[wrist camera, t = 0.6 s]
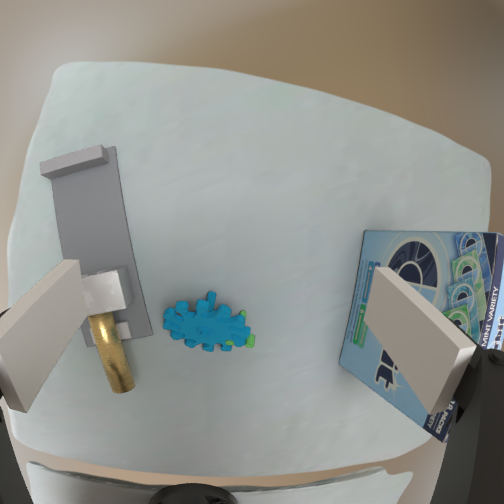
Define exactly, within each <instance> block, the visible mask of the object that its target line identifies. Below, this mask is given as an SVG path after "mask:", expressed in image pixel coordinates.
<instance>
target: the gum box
mask: <svg viewBox="0 0 504 504" xmlns="http://www.w3.org/2000/svg"><path fill="white" fill-rule="evenodd" d="M375 267H389V268H391V269H392V270H393V271H394V272H395V273H396V274H398V275H399V276H400V277H401V278H402V279H403V280H405V281H406V282H407V283H408V284H409V285H410V286H412V287H413V288H414V289H415V290H416V291H417V292H418V293H420V294H421V295H422V296H423V297H424V298H425V299H426V300H428V301H429V302H430V303H431V304H432V305H433V306H434V307H435V308H437V309H438V310H439V311H440V312H441V313H442V314H443V315H444V316H446V317H448V318H450V319H452V320H453V321H454V322H455V323H456V324H457V325H458V326H460V328H462V329H463V330H464V331H465V333H466V334H468V335H469V336H470V337H471V338H472V339H473V340H475V341H476V342H477V343H478V344H479V345H480V346H481V347H482V348H483V349H484V350H485V349H489V348H493V349H498V350H501V346H502V342H503V338H504V235H502V234H500V233H498V232H453V231H378V230H365V234H364V241H363V247H362V253H361V259H360V265H359V271H358V277H357V283H356V289H355V294H354V299H353V304H352V309H351V313H350V318H349V323H348V327H347V331H346V336H345V340H344V344H343V349H342V353H341V357H340V360H339V364H340V365H341V366H342V367H344V368H345V369H346V370H348V371H349V372H350V373H351V374H353V375H354V376H355V377H357V378H358V379H359V380H360V381H362V382H363V383H364V384H366V385H367V386H368V387H369V388H371V389H372V390H373V391H375V392H376V393H377V394H379V395H380V396H381V397H383V398H384V399H385V400H386V401H388V402H389V403H390V404H392V405H393V406H394V407H396V408H397V409H398V410H400V411H401V412H402V413H403V414H405V415H406V416H407V417H409V418H410V419H411V420H413V421H414V422H415V423H417V424H418V425H419V426H421V427H422V428H423V429H425V430H426V431H427V432H429V433H430V434H432V435H433V436H435V437H436V438H437V439H438V440H440V441H441V442H442V443H447V441H448V437H449V432H450V427H451V423H450V424H449V426H448V427H445V425H446V423H447V421H448V420H449V418H450V416H451V415H452V413H453V411H454V409H455V407H456V406H457V404H458V403H457V402H456V401H455V399H454V398H452V400H451V402H450V403H449V405H448V407H447V409H446V410H445V411H442V412H438V413H435V414H431V415H429V414H428V412H427V411H426V409H425V408H424V406H423V405H422V403H421V402H420V400H419V399H418V397H417V396H416V394H415V393H414V391H413V390H412V388H411V387H410V385H409V384H408V382H407V381H406V379H405V378H404V377H403V375H402V374H401V372H400V371H399V369H398V368H397V366H396V365H395V364H394V362H393V361H392V359H391V358H390V356H389V355H388V354H387V352H386V351H385V349H384V348H383V346H382V345H381V344H380V342H379V341H378V339H377V338H376V337H375V335H374V334H373V332H372V331H371V330H370V328H369V327H368V326H367V324H366V323H365V321H364V316H365V312H366V308H367V303H368V299H369V294H370V289H371V285H372V280H373V275H374V269H375Z"/></svg>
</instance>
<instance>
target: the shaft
mask: <svg viewBox="0 0 504 504" xmlns="http://www.w3.org/2000/svg"><path fill="white" fill-rule="evenodd" d="M88 320H89V323H90V327H91V330H92V333H93V336H94V340H95V343H96V346H97V349H98V352H99V355H100V358H101V361H102V364H103V367H104V370H105V372H106V375H107V378H108V381H109V383H110V386H111V388H112V391H113V392H114V393H124V392H128V391H130V390H132V389H133V388H134V387H135V383H134V380H133V377H132V374H131V371H130V368H129V365H128V362H127V359H126V356H125V353H124V350H123V347H122V344H121V340H120V337H119V334H118V330H117V327H116V324H115V320H114V316H113V313H112V311H110V312H105V313H100V314H95V315H90V316H88Z"/></svg>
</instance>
